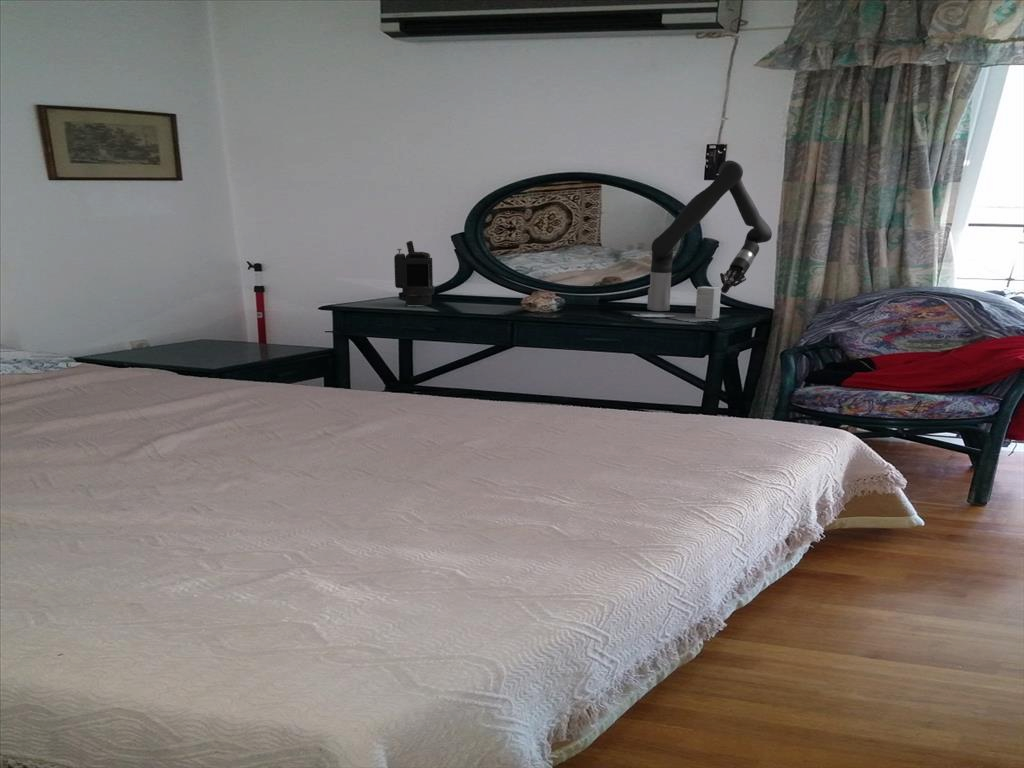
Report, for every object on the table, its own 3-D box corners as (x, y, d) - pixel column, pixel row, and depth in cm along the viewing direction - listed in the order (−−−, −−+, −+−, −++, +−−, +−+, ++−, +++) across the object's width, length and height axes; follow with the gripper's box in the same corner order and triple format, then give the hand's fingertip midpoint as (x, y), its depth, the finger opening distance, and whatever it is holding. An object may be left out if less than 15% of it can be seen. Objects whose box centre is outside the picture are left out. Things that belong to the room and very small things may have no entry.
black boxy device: (434, 307, 345) (433, 241, 339) (395, 307, 344) (393, 241, 337) (435, 303, 360) (434, 240, 353) (398, 303, 359) (396, 240, 352)
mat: (664, 318, 314) (664, 317, 314) (683, 316, 321) (683, 315, 321) (699, 323, 300) (699, 322, 300) (718, 321, 308) (718, 320, 308)
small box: (719, 318, 317) (721, 287, 314) (712, 319, 312) (714, 288, 309) (702, 316, 322) (704, 285, 319) (694, 317, 318) (696, 287, 315)
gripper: (726, 255, 329) (707, 284, 324) (752, 257, 319) (733, 287, 314) (732, 267, 333) (713, 296, 328) (758, 269, 323) (739, 299, 318)
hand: (723, 291), depth 321 cm, fingers closed
